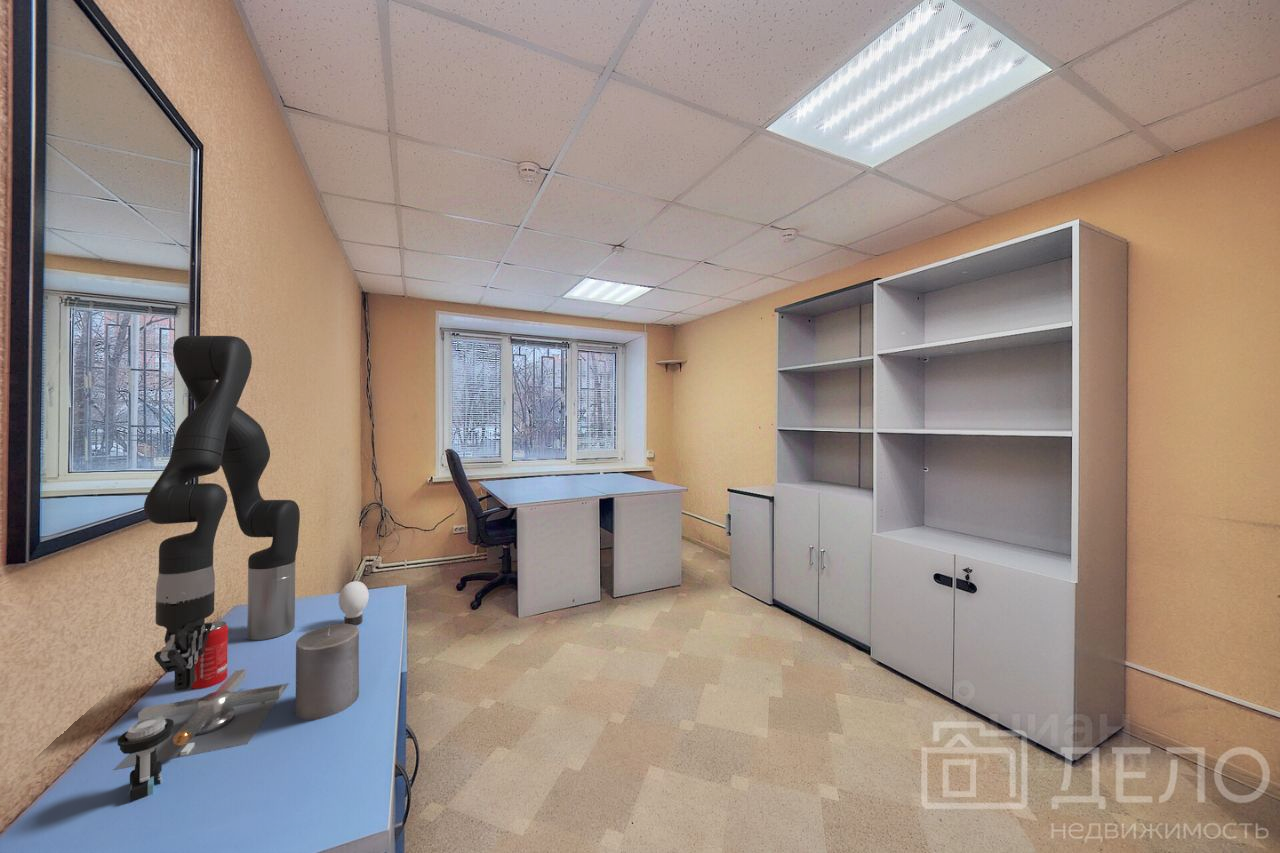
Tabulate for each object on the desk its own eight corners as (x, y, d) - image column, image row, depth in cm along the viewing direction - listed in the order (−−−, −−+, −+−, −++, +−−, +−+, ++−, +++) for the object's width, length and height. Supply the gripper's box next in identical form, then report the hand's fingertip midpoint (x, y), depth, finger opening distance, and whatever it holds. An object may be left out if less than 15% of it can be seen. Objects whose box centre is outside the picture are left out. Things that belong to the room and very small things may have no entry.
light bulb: (340, 631, 113) (341, 588, 113) (336, 622, 118) (336, 581, 118) (371, 624, 117) (371, 582, 117) (365, 615, 122) (366, 575, 122)
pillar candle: (317, 693, 87) (317, 617, 87) (369, 691, 88) (369, 616, 88) (281, 727, 77) (281, 642, 77) (340, 724, 78) (340, 640, 78)
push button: (121, 787, 64) (121, 718, 64) (174, 768, 68) (175, 703, 68) (113, 817, 59) (114, 742, 59) (171, 794, 63) (172, 724, 63)
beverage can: (204, 695, 86) (205, 633, 86) (183, 692, 87) (184, 630, 87) (233, 680, 91) (234, 622, 91) (214, 677, 92) (214, 619, 92)
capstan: (176, 699, 83) (176, 678, 83) (299, 680, 90) (299, 660, 90) (92, 778, 65) (93, 751, 65) (255, 746, 71) (255, 721, 71)
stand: (185, 705, 83) (185, 696, 83) (289, 687, 89) (289, 679, 89) (112, 776, 66) (113, 765, 66) (247, 749, 72) (247, 739, 72)
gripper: (181, 583, 86) (179, 672, 86) (133, 609, 74) (131, 714, 74) (230, 579, 89) (228, 665, 89) (191, 603, 77) (189, 704, 76)
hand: (184, 687), depth 81 cm, fingers closed
